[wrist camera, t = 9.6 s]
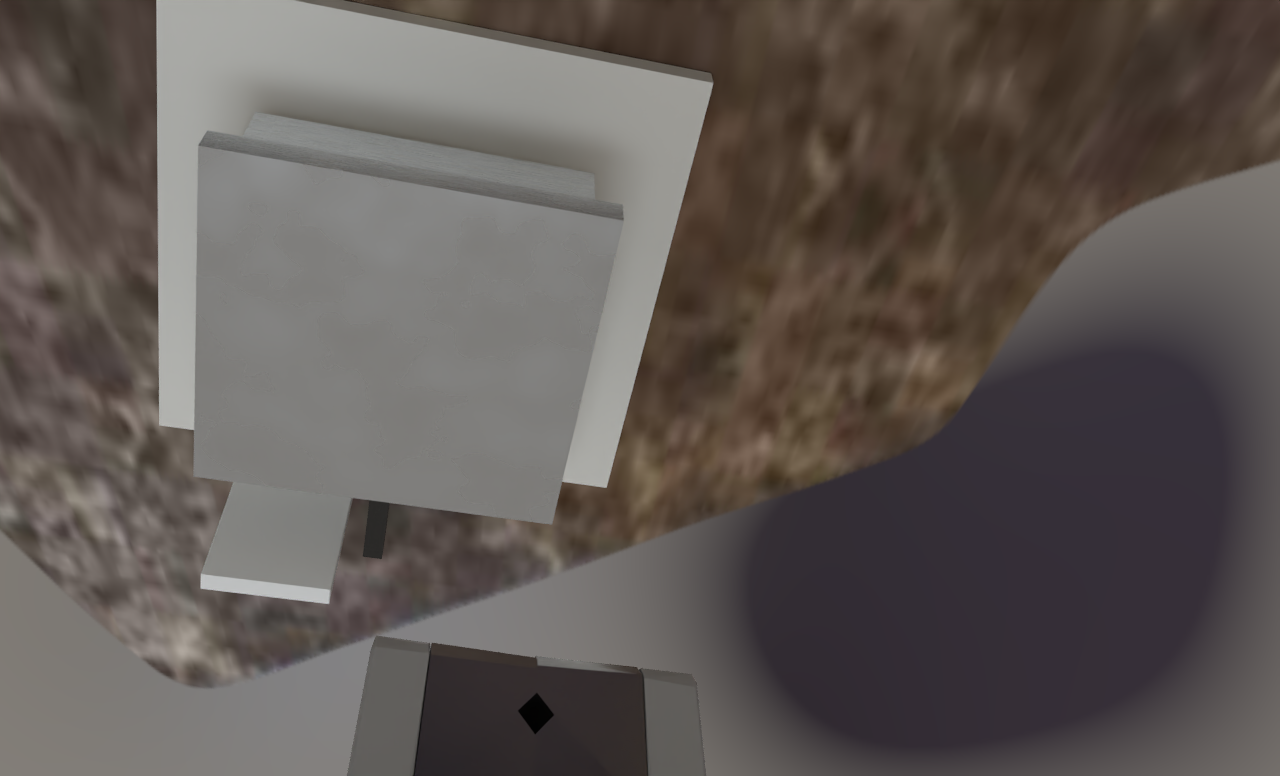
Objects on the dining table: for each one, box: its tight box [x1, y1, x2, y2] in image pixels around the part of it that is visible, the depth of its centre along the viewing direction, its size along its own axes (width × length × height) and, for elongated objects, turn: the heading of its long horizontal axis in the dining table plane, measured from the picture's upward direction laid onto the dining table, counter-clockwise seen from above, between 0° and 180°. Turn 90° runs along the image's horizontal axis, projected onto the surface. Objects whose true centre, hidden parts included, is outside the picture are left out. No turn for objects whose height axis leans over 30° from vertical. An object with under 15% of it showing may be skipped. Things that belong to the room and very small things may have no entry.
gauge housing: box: [156, 0, 713, 604], centre depth 47 cm, size 20×22×9 cm
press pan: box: [194, 112, 624, 559], centre depth 48 cm, size 14×19×5 cm
